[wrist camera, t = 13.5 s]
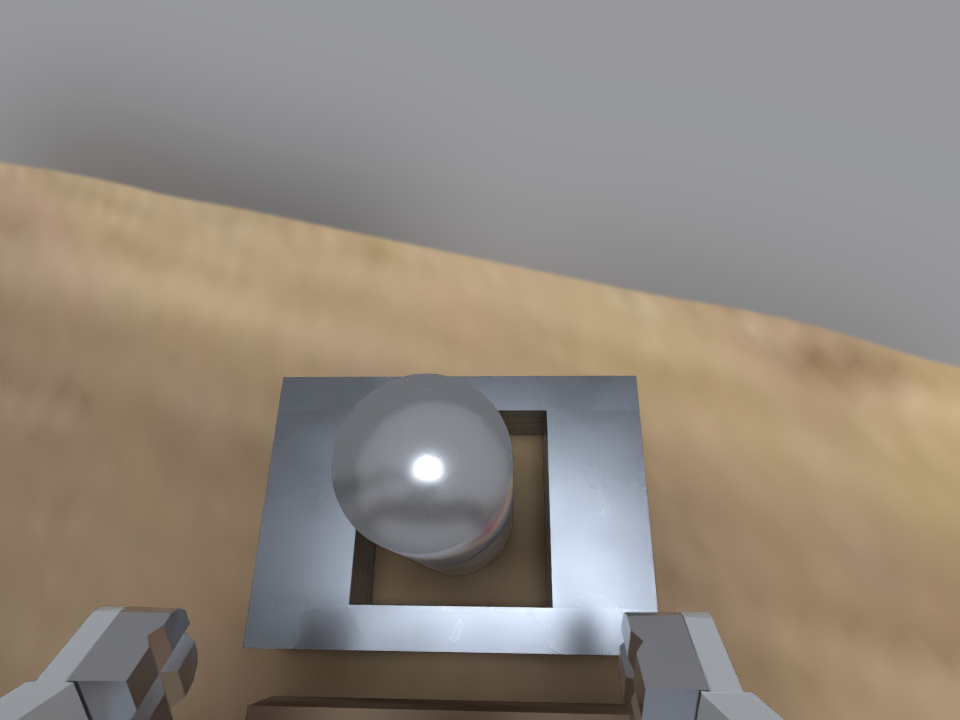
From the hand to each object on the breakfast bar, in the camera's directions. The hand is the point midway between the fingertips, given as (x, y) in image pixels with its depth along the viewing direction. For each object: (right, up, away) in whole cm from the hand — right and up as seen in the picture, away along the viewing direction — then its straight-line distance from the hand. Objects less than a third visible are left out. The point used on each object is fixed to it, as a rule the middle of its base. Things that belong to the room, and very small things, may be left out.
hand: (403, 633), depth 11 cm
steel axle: (+1, -1, +10) cm, 10 cm away
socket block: (+1, 0, +10) cm, 10 cm away
